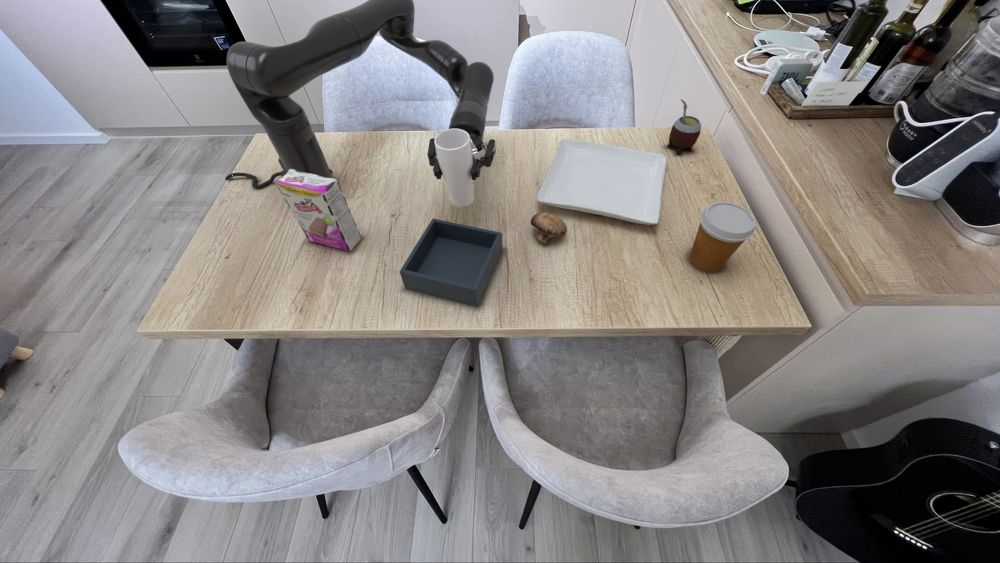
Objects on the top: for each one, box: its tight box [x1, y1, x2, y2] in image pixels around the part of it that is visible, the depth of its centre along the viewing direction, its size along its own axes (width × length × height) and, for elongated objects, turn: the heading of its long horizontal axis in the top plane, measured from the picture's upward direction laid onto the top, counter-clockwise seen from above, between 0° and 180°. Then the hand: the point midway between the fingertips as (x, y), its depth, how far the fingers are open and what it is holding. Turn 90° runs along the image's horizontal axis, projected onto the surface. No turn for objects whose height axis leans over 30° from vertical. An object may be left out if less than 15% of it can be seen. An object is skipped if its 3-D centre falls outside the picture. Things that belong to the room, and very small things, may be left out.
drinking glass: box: [434, 128, 475, 208], centre depth 79 cm, size 7×7×15 cm
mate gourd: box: [666, 98, 702, 156], centre depth 101 cm, size 8×8×15 cm
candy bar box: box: [275, 169, 362, 253], centre depth 82 cm, size 11×5×16 cm, turn 71°
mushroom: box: [530, 211, 568, 245], centre depth 86 cm, size 8×8×6 cm
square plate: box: [535, 138, 668, 226], centre depth 96 cm, size 27×27×4 cm
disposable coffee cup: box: [689, 201, 757, 273], centre depth 77 cm, size 10×10×12 cm
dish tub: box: [399, 218, 504, 308], centre depth 80 cm, size 16×16×5 cm
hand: (455, 176), depth 76 cm, fingers closed on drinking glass, 6 cm apart
